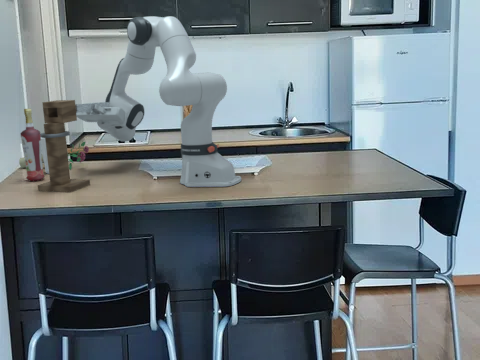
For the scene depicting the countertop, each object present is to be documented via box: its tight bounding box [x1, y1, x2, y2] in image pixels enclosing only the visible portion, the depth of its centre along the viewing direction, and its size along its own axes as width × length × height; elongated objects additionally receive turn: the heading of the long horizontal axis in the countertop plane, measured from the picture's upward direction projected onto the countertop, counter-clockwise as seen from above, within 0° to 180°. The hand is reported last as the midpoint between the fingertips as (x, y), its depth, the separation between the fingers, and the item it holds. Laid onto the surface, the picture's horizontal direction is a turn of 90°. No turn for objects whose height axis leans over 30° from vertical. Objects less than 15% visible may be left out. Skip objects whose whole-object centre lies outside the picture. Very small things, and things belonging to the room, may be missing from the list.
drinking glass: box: [41, 137, 49, 175], centre depth 250 cm, size 7×7×15 cm
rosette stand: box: [37, 99, 91, 193], centre depth 218 cm, size 14×13×31 cm
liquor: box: [20, 108, 45, 182], centre depth 235 cm, size 7×7×28 cm
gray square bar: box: [75, 101, 110, 113], centre depth 235 cm, size 3×22×3 cm, turn 159°
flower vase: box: [18, 141, 90, 171], centre depth 260 cm, size 12×12×35 cm
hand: (89, 106), depth 234 cm, fingers closed on gray square bar, 3 cm apart
